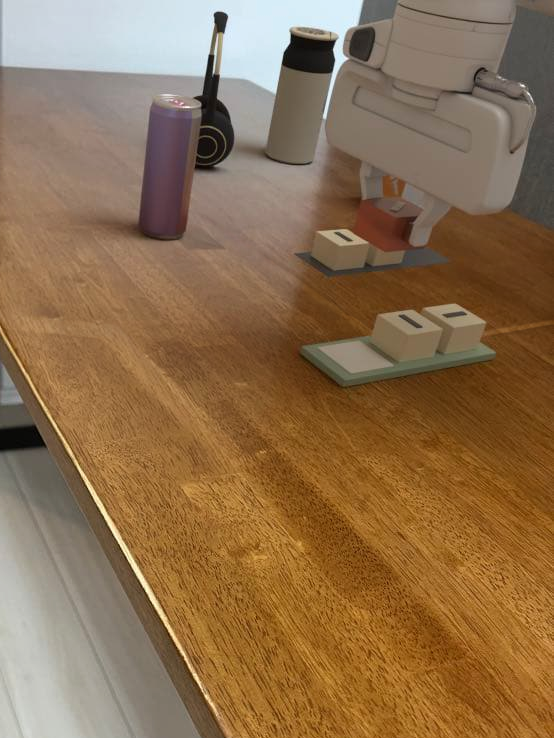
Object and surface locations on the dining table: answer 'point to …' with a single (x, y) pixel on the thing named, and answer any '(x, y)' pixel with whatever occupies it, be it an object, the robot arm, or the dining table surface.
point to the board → (361, 255)
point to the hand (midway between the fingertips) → (390, 230)
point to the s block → (386, 222)
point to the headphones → (214, 107)
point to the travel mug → (301, 95)
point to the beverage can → (169, 165)
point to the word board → (404, 346)
